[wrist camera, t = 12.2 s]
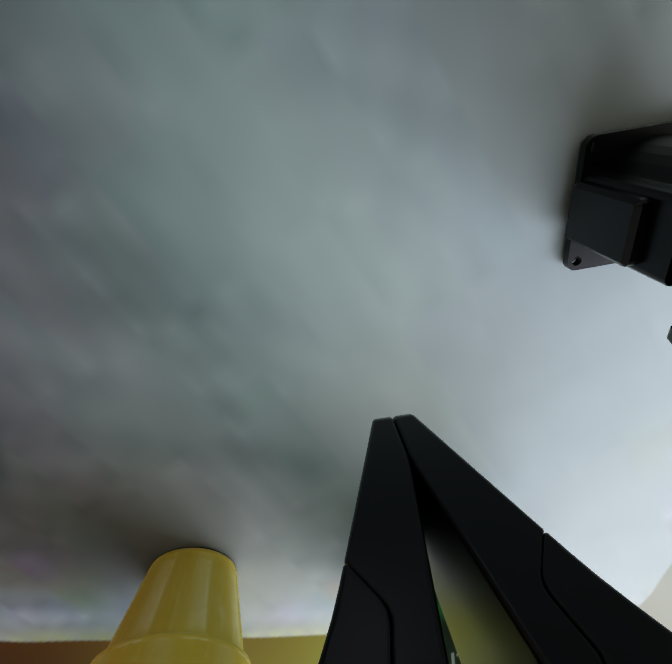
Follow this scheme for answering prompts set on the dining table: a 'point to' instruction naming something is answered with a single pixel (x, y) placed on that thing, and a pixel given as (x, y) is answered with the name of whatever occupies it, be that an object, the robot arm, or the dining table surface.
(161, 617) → the plant pot
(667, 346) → the dining table surface
